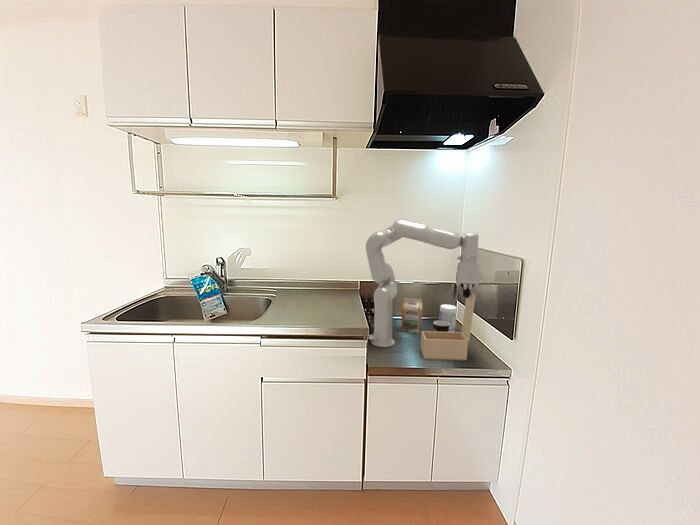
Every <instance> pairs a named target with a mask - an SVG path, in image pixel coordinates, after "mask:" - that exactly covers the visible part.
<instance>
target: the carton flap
mask: <svg viewBox="0 0 700 525" xmlns="http://www.w3.org/2000/svg"><path fill="white" fill-rule="evenodd" d="M475 303H476V295H475V294H474V293H473V292H472V291H470V296H469V298H465V302H464V312H463V319H462V326H461V327H462V328H461V332H462V333H463V335H464V336H465V337H466V339H467V340H468V342H469V341H470V339H471V331H472V323H473V318H474V309H475Z"/></svg>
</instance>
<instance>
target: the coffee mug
mask: <svg viewBox="0 0 700 525" xmlns="http://www.w3.org/2000/svg"><path fill="white" fill-rule="evenodd" d="M432 324H433V331H434V332H448V331H449V325H450V323H448V322H446V321H439V320H434V321H433V323H432Z"/></svg>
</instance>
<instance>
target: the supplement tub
mask: <svg viewBox="0 0 700 525" xmlns="http://www.w3.org/2000/svg"><path fill="white" fill-rule="evenodd" d="M438 315H439V316H438V318H439V319H438V321H446V322H448V323H450V325H449V331H448V332H456V322H457V306H456V305H452V304H445V303H444V304H441V305H440V306H439V314H438Z"/></svg>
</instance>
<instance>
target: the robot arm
mask: <svg viewBox="0 0 700 525" xmlns="http://www.w3.org/2000/svg"><path fill="white" fill-rule="evenodd" d="M402 238H404V239H410V240H413V241H418V242H422V243H423V244H428V245H432V246H434V247H438V248H443V249H445V250H446V249H447V250H455V249H457V248H460V254H459V256H457V260H458V262H457V267H456V272H455V273H456V275H455V285H456V286H460V287H461V288H462V296H463V298H465V299H466V298H469V296H470V292H471V290H472V289H473V288H474V287H476V286H479V285H480V280H481V275H480V274H481V272H480V271H481V270H480V263H479V262H478V254H479V252H478V251H479V238H480V237H479V234H478V233H476V232H458V231H451V232H449V231H444V230H441V229H437V228H433V227H431V226H430V225H428V224H426V223H424V224H423V223H421V222H420V223H419V222H416V221H410V220H408V219H407V218H399V219H396V220H395V221H394V222H393V224H392V225H389V226H388V227H386V228H384V229H383V230H382V229H381V230H378V231H375V232H373V233H372V234H371V235H370V236H369V237H368V238H367V240H366V243H365V253H366V258H367V262H368V266H369V271H370V276H371V278H372V280H373V282H375V283H376V284H378V287H377V288H376V289H375V290H374V293H373V302H374V324H373V325H374V330H373V334H368V335H369V340H368V341H370V342H371V343H370V344H372V345H373V346H376V347H378V348H389V347H392V346H394V345H395V344H396V341H395V340H394V338H393V315H394V314H393V311H394V309H393V299H394V298H395V297H396V295H397V294H398V286H397V282H396V277H395V273H394V270H393V267H392V265H390V264H389V263H388V262H386V261H385V255H384V253H383V248H385V247H387V246H390V245H392V244H393V243H395V242H397V241H399V240H400V239H402Z"/></svg>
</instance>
